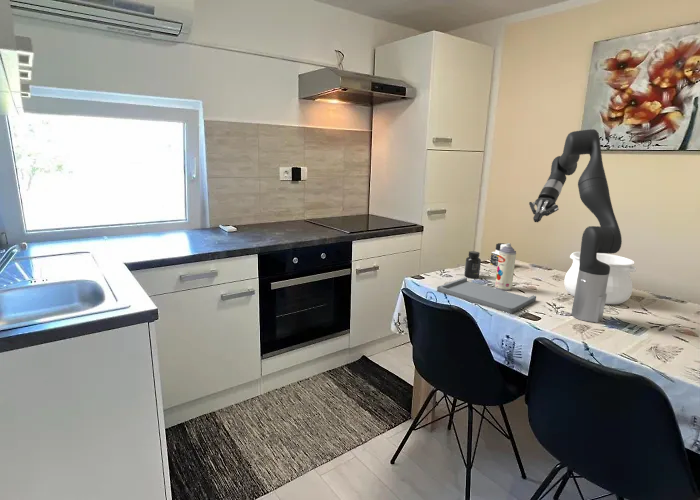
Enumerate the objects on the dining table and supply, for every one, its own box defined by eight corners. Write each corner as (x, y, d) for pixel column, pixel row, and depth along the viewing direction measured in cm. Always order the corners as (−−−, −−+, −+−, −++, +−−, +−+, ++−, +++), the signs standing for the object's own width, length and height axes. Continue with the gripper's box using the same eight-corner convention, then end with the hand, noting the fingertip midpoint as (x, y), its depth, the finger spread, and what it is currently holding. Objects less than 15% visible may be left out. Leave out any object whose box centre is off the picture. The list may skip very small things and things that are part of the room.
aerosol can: (492, 285, 178) (497, 241, 174) (506, 285, 179) (512, 242, 174) (499, 290, 172) (504, 245, 167) (514, 290, 172) (520, 245, 168)
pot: (548, 290, 175) (554, 253, 171) (583, 284, 186) (590, 248, 182) (608, 310, 153) (616, 268, 149) (643, 302, 164) (652, 262, 160)
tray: (535, 300, 161) (536, 296, 160) (511, 314, 146) (512, 308, 145) (464, 281, 183) (464, 277, 183) (436, 291, 168) (437, 286, 167)
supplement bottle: (480, 276, 192) (483, 252, 189) (476, 279, 187) (479, 254, 184) (466, 273, 196) (469, 249, 193) (462, 276, 190) (464, 252, 188)
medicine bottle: (489, 264, 215) (492, 242, 212) (499, 263, 218) (502, 242, 215) (499, 268, 208) (502, 245, 206) (509, 267, 211) (512, 244, 209)
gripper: (534, 184, 183) (519, 213, 178) (565, 187, 174) (550, 217, 168) (537, 196, 188) (522, 224, 182) (567, 199, 179) (553, 228, 173)
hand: (535, 221), depth 175 cm, fingers closed
